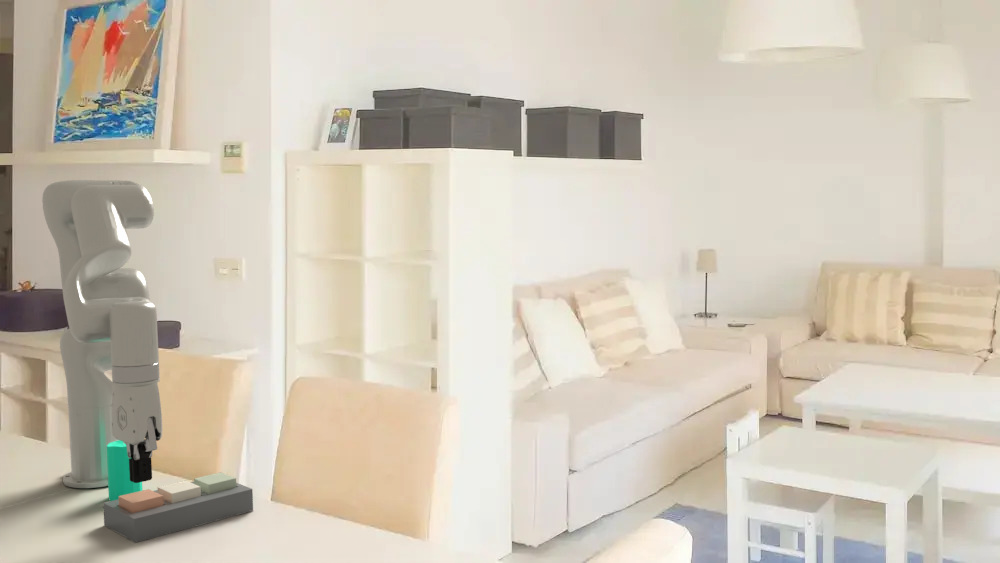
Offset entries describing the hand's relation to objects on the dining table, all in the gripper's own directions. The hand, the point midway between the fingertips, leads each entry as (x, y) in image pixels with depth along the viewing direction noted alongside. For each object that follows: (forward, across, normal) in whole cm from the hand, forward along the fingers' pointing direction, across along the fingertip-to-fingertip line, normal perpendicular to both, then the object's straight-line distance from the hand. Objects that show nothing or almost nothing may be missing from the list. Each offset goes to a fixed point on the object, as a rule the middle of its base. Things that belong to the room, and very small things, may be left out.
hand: (141, 480), depth 164 cm
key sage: (+6, -1, +14) cm, 15 cm away
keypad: (+8, -1, +7) cm, 11 cm away
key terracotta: (+6, -1, 0) cm, 6 cm away
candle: (+8, -19, +6) cm, 22 cm away
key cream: (+6, -1, +7) cm, 9 cm away
